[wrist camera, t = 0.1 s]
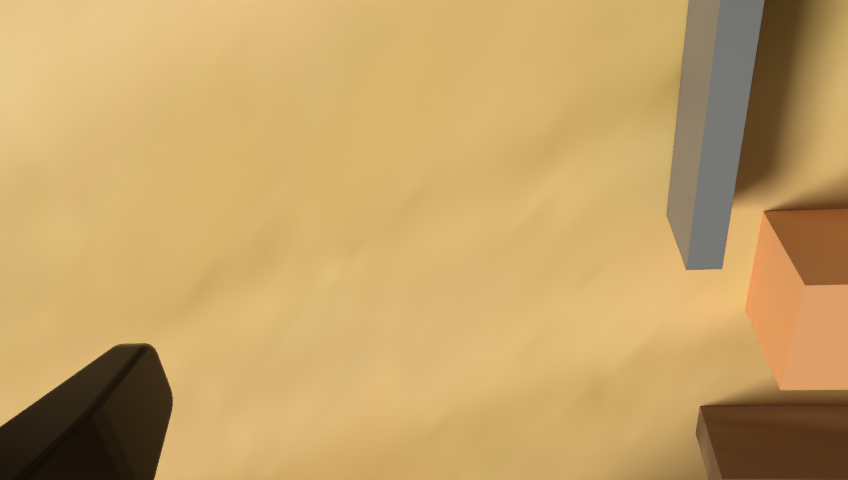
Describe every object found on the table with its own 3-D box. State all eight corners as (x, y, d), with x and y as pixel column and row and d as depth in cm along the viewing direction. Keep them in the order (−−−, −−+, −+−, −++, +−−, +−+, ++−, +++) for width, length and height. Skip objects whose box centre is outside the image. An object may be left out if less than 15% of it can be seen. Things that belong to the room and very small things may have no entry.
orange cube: (865, 305, 26) (920, 388, 23) (744, 307, 26) (780, 390, 23) (895, 205, 24) (960, 281, 20) (762, 210, 24) (805, 285, 21)
